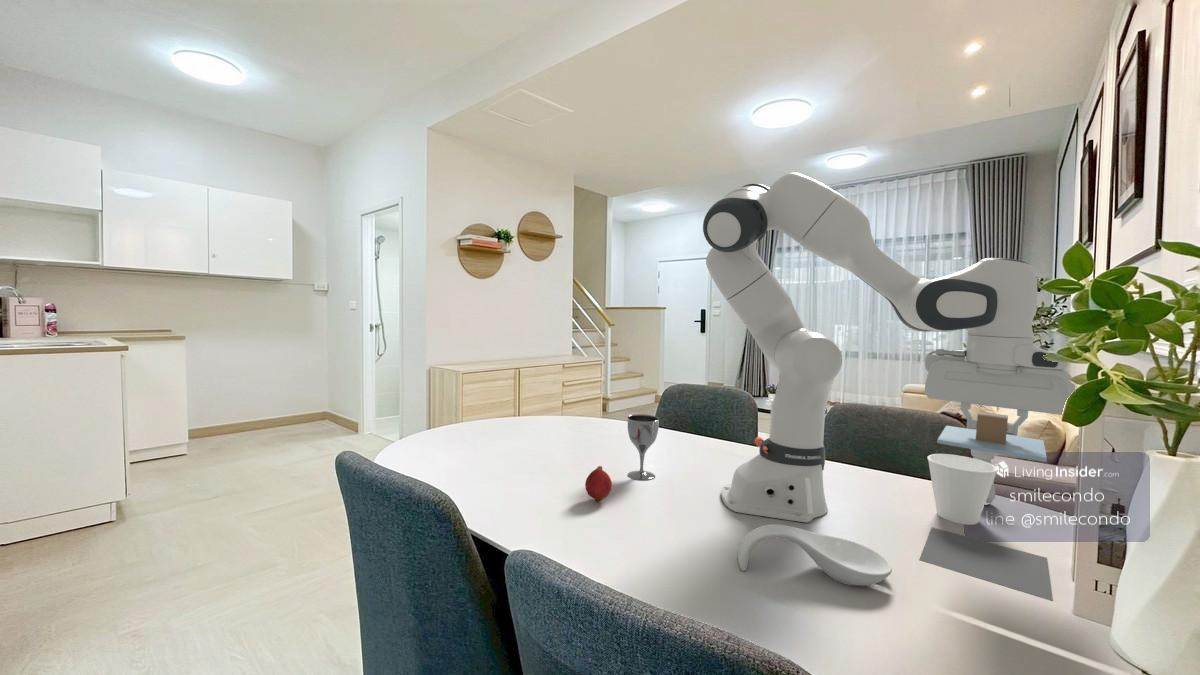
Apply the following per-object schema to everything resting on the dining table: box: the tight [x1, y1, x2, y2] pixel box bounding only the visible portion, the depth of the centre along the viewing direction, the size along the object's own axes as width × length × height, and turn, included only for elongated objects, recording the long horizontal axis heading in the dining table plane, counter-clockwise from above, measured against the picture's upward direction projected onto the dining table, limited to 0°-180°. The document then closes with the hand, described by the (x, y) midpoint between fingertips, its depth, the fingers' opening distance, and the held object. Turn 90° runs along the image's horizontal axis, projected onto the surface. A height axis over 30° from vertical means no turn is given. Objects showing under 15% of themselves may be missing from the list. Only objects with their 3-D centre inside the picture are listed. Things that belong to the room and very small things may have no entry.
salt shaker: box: [970, 449, 996, 504], centre depth 111 cm, size 6×6×13 cm
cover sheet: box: [936, 411, 1048, 463], centre depth 84 cm, size 14×14×5 cm
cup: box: [926, 453, 999, 526], centre depth 101 cm, size 12×12×12 cm
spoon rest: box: [736, 523, 893, 587], centre depth 80 cm, size 24×12×7 cm, turn 83°
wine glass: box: [627, 413, 660, 482], centre depth 123 cm, size 8×8×15 cm
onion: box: [584, 465, 613, 503], centre depth 106 cm, size 6×6×8 cm
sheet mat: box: [918, 527, 1054, 602], centre depth 85 cm, size 17×17×1 cm
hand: (991, 431), depth 84 cm, fingers closed on cover sheet, 4 cm apart
